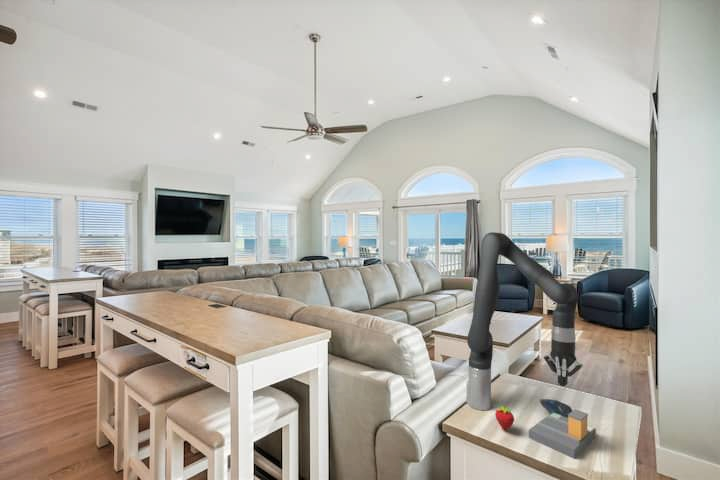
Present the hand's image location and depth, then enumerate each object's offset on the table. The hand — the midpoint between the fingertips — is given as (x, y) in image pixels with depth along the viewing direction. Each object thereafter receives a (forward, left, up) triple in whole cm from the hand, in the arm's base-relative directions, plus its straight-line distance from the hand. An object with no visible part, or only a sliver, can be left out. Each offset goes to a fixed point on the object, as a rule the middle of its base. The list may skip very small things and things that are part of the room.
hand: (562, 385), depth 128 cm
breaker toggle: (+5, 0, -16) cm, 17 cm away
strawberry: (-15, -13, -19) cm, 28 cm away
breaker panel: (0, 0, -19) cm, 19 cm away
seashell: (-9, +17, -19) cm, 27 cm away
